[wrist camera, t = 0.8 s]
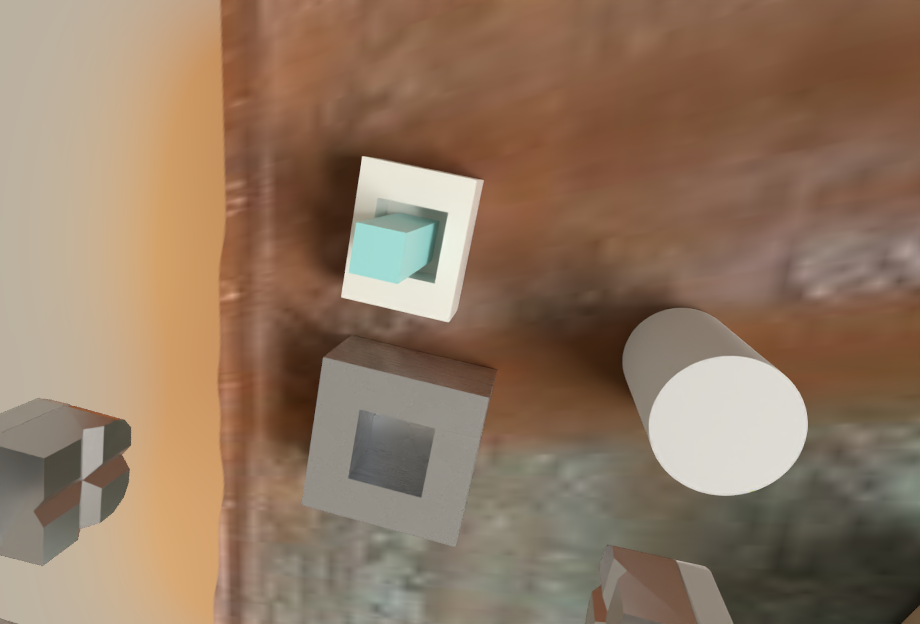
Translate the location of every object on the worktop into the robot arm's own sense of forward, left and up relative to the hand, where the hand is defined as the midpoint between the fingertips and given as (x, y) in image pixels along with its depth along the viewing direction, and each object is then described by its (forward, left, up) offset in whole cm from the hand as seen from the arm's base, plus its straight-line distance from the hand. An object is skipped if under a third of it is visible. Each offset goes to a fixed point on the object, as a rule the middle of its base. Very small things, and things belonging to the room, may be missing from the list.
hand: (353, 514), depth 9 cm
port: (+15, -5, -35) cm, 38 cm away
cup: (+5, +14, -35) cm, 38 cm away
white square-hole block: (0, -7, -35) cm, 35 cm away
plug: (0, -7, -34) cm, 34 cm away
